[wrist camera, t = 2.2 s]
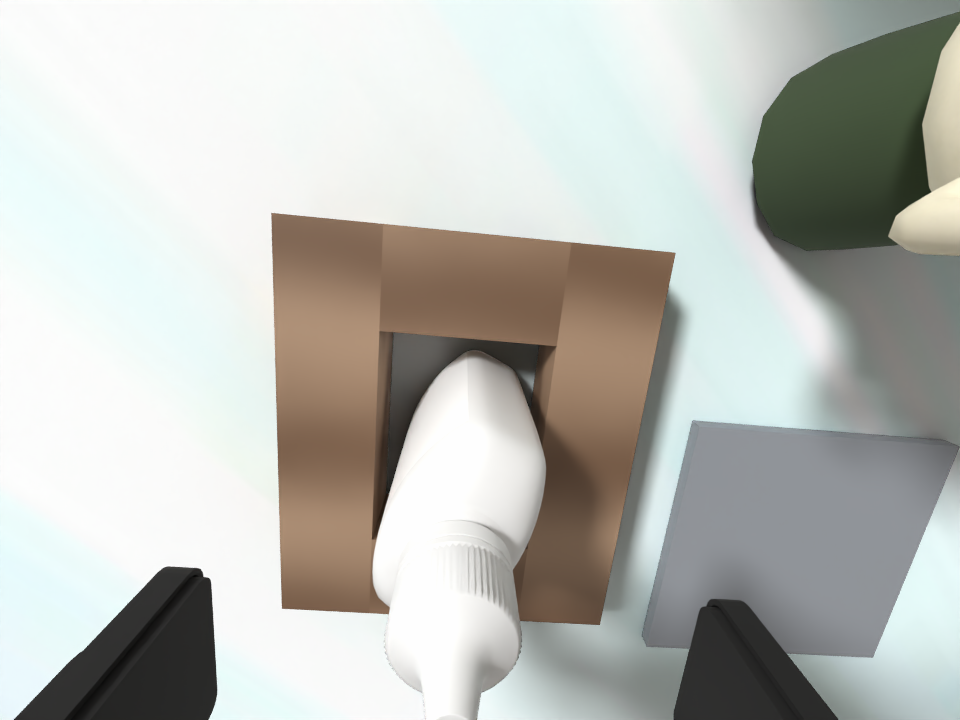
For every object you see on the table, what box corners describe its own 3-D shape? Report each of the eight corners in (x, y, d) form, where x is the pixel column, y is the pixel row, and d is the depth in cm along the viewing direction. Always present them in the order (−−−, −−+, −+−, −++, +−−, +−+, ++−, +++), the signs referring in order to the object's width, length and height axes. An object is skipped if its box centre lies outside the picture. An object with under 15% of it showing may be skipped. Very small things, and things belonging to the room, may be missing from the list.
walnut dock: (306, 217, 16) (271, 212, 13) (638, 249, 16) (675, 252, 14) (309, 553, 20) (282, 608, 17) (580, 569, 20) (599, 625, 17)
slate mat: (692, 420, 18) (699, 426, 18) (944, 440, 19) (959, 446, 18) (641, 635, 21) (646, 646, 21) (861, 646, 22) (872, 657, 21)
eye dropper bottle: (370, 404, 18) (195, 717, 6) (493, 333, 17) (550, 533, 6) (430, 487, 19) (374, 886, 7) (547, 423, 18) (688, 747, 7)
